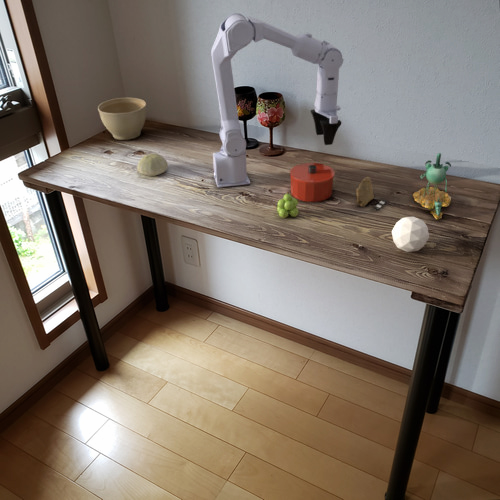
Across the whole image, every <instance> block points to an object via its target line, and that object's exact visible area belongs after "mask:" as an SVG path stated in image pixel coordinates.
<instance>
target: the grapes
mask: <svg viewBox="0 0 500 500" xmlns="http://www.w3.org/2000/svg"><path fill="white" fill-rule="evenodd" d="M298 205H299V199H296V198H295V197H293V196H292V194H291V193H290V192H289V191H287V192H286V193H285V194H284V195H283V198H280V199H279V200H278V202H277V206H276V211H277V213H278V215H279V217H280V218H281V219H282V218H283V219H285V218H287V217H288V216H290V217H297V216H298V215H299V208H298Z"/></svg>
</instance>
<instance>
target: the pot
mask: <svg viewBox="0 0 500 500" xmlns="http://www.w3.org/2000/svg"><path fill="white" fill-rule="evenodd" d="M333 188H334V178H333V179H331V180H330V181H328V182H325V183H319V184H307V183H302V182H298V181H296V180H294V179H293V178H292V177H291V176H290V189H289V190H290V194H291V195H292V198H296V199H297V200H298V201H303V202H308V203H317V202H323V201H326V200H329V198H330V197H331V196H332V195H333V190H334V189H333Z"/></svg>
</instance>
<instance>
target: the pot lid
mask: <svg viewBox="0 0 500 500" xmlns="http://www.w3.org/2000/svg"><path fill="white" fill-rule="evenodd" d="M335 174H336V172H335V170H334V169H333V167H332V166H329V165H327V164H324V163H319V162H304V163H300V164H296V165H294V166H293V167H292V168H291V169H290V170H289V175H290V178H291V177H292V178H293V179H294V180H296V181H298V182H302V183H307V184H319V183H325V182H328V181H330V180H331V179H333V180H334V178H335Z"/></svg>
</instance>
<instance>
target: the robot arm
mask: <svg viewBox="0 0 500 500" xmlns="http://www.w3.org/2000/svg"><path fill="white" fill-rule="evenodd" d="M262 40H266V41H268V42H272V43H274V44H277V45H280V46H283V47H285V48H289V49H290V50H291V52H292V56H294V57H296V58H299V59H301V60H304V61H306V62H308V63H311V64H314V65H317V74H316V91H315V93H316V95H315V100H314V109H311V110H310V114H311V116H312V119H313V124H314V129H315V134H316V135H317V136H322V135H323V143H324V146H330V145H333V143H334V140H335V137H336V134H337V132H338V130H339V128H340V127H341V125H342V120H340V119H339V115H338V111H341V106H340V105H337V104H338V92H339V91H338V90H339V80H340V79H339V78H340V75H339V74H340V69H341V67H342V66H343V63H344V60H345V59H344V58H343V54H342V52H341V51H340V50H339V49H338V48H337V47H335V45H333V44H331V43H330V42H328V41H327V40H319V39H317V38H315V37H313V34H312V33H310V32H306V33H302V32H301V33H298V34H296V35H293V34H292V33H289V32H287V31H285V30H283V29H281V28H279V27H276V26H274V25H272V24H270V23H268V22H265V21H263V20H261V19H258V18H255V17H252V16H248V15H246V16H244V15H243V14H241V13H238V12H234V13H231V14H229V15H228V16H227V17H225V18H224V19H223V21H222V22H221V23H220V25H219V29H218V32H217V35H216V38H215V40H214V42H213V45H212V46H211V50H210V51H211V52H210V55H211V61H212V68H213V76H214V81H215V87H216V88H215V89H216V94H217V100H218V101H217V102H218V108H219V114H220V129H219V138H220V141H221V143H222V145H221V147H220V149H219V151H217V152H213V153H212V162H213V163H212V164H213V178H214V180H215V184H216V187H217V188H227V187H228V188H229V187H235V186H236V187H237V186H246V185H250V184H251V180H250V178H249V176H248V170H247V149H246V148H247V140H246V139H245V137H244V135H243V134H242V128H241V124H240V120H239V113H238V105H237V98H236V90H235V82H234V75H233V67H232V59H233V58H234V57H235V55H237V53H238V51H241V50H242V49H243V48H246V47H247V46H248V45H250V44H251V43H252V41H253V42H254V43H257V42H260V41H262Z"/></svg>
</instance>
